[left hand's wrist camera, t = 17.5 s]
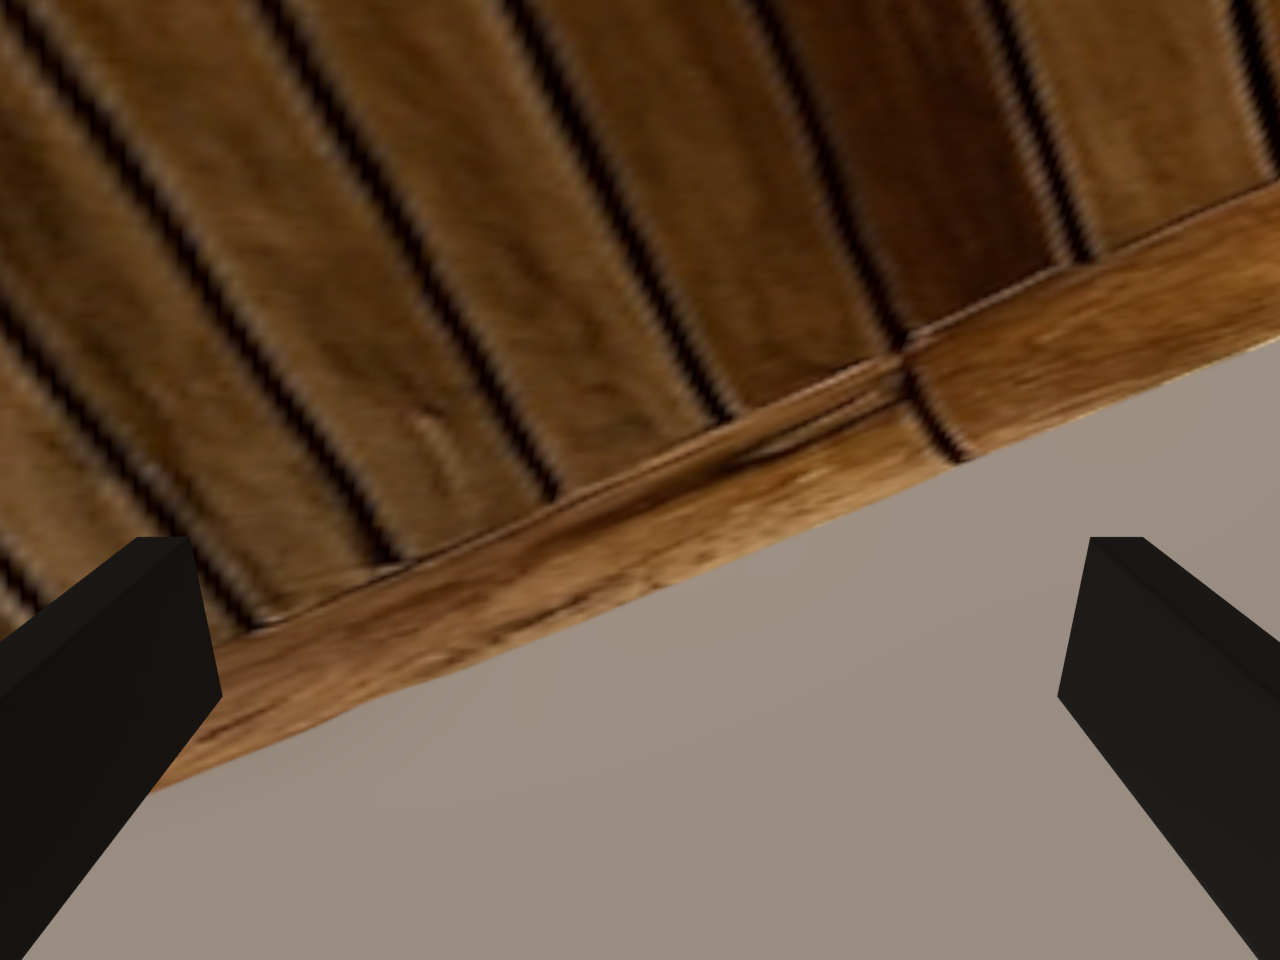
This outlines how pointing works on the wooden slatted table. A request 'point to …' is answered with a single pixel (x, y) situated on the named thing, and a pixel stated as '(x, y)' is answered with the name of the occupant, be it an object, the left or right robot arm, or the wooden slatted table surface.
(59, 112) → the wooden slatted table surface
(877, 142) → the wooden slatted table surface
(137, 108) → the wooden slatted table surface
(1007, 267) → the wooden slatted table surface
